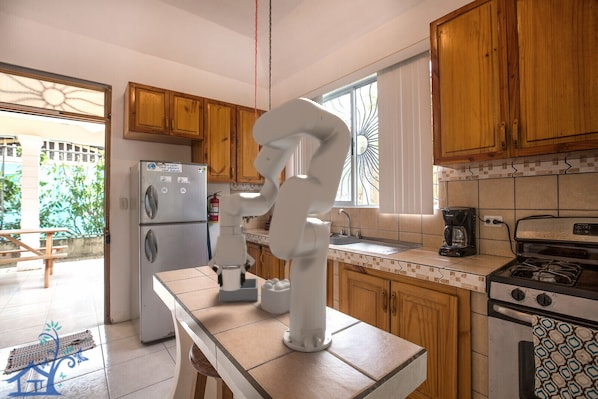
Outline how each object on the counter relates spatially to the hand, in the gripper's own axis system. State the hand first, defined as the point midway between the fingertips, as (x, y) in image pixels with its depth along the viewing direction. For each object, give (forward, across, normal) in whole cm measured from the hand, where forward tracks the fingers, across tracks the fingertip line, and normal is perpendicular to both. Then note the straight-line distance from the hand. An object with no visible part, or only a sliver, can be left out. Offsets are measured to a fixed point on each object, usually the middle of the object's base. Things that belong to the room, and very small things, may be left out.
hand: (231, 284), depth 90 cm
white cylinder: (+1, 0, 0) cm, 1 cm away
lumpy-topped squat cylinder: (+9, -15, -2) cm, 17 cm away
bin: (+8, -2, -14) cm, 16 cm away
